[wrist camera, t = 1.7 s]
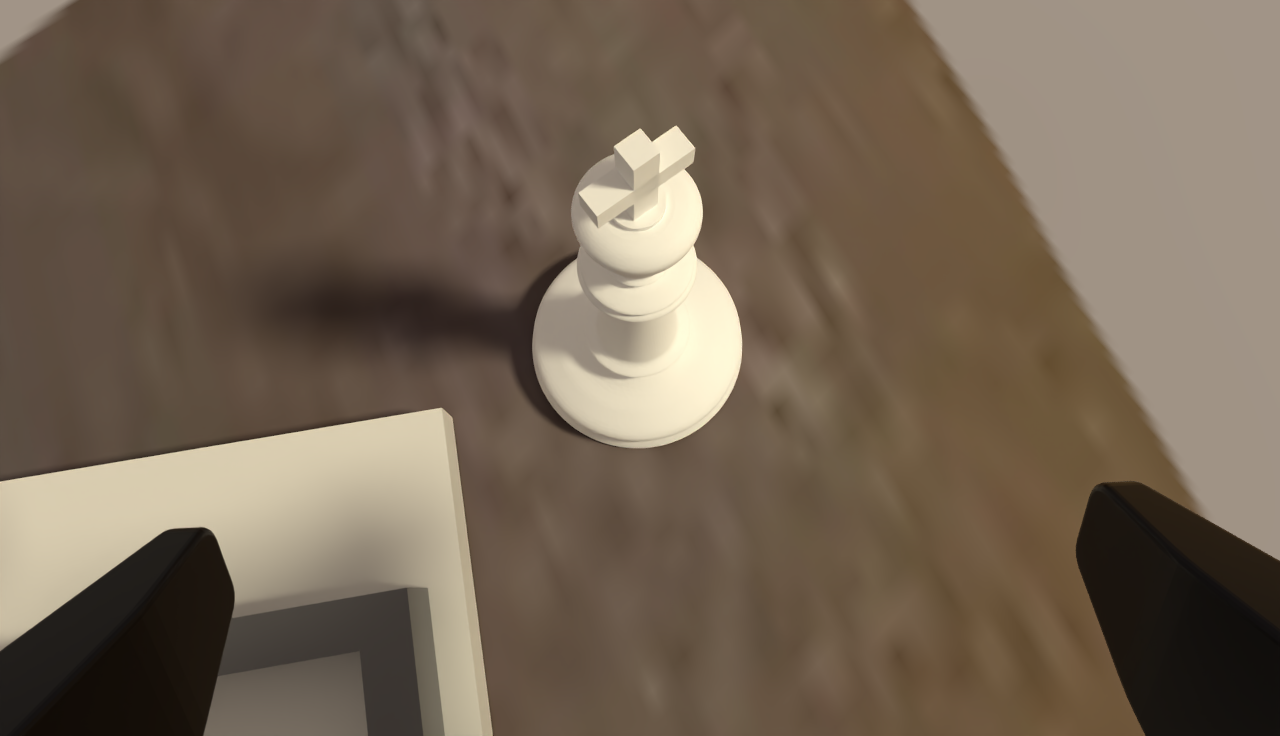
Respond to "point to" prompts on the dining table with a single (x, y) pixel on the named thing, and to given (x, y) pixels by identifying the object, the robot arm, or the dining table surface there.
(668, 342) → the chess piece
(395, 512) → the board
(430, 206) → the dining table surface
